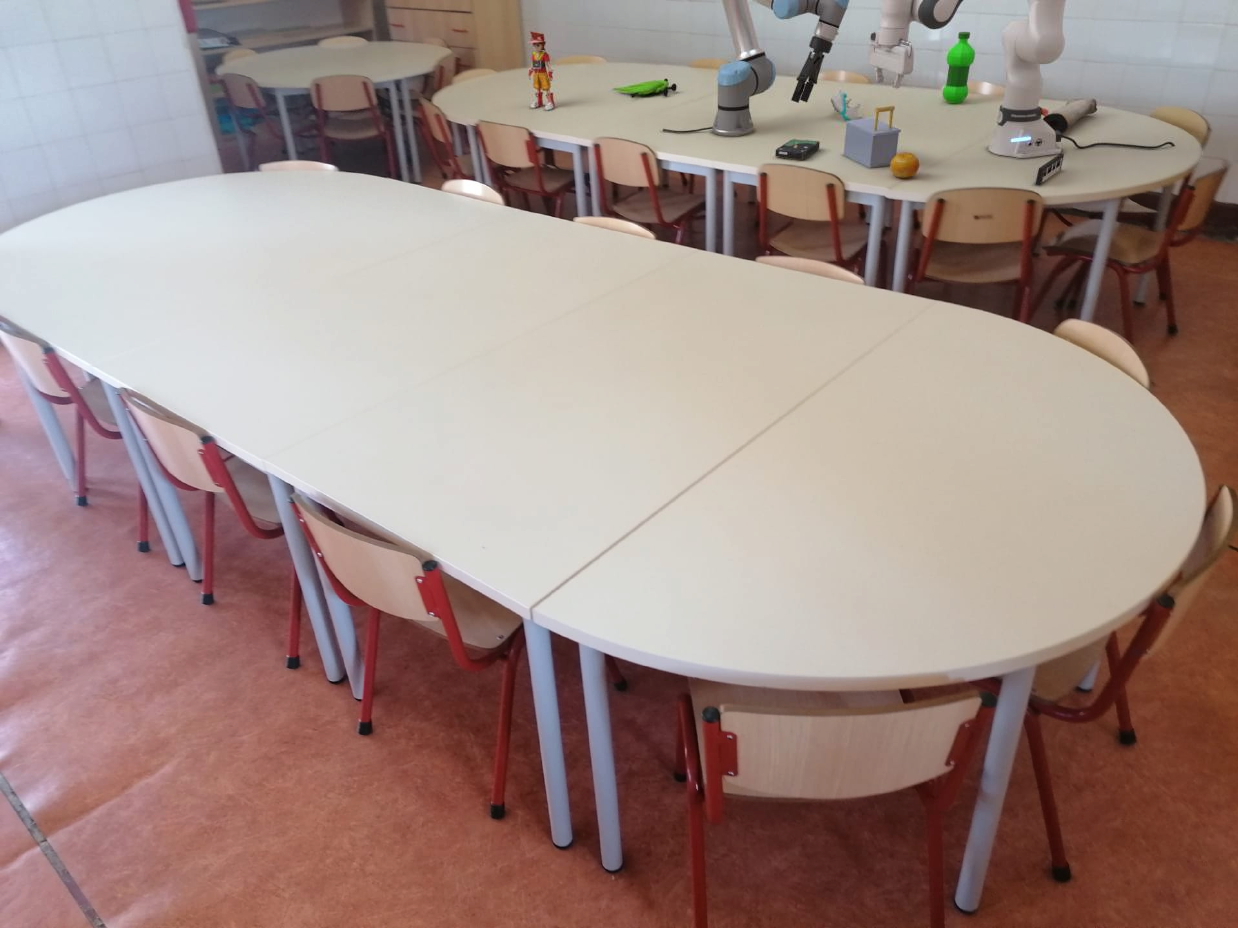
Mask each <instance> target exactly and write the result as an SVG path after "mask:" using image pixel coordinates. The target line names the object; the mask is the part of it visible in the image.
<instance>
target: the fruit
mask: <svg viewBox="0 0 1238 928" xmlns="http://www.w3.org/2000/svg"><path fill="white" fill-rule="evenodd" d="M889 167H890V172H891V173H892V175H894V176H895V177H897V178H903V179H907V178H911V177H913V176H915V174H916V173H917V172H918V170H919V169H920V161H919V159H918V157H917V156H916V155H915V154H914V153H911V152H901V153H897V154H896V156H895V157H894V158H893V159H892V161H891V165H889Z"/></svg>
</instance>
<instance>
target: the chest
mask: <svg viewBox="0 0 1238 928" xmlns="http://www.w3.org/2000/svg"><path fill="white" fill-rule="evenodd" d="M845 126H846V127H845V135H844V147H843V156H845V157H847V158H849V159H851V160H853V161H855V162H857V163H859V164H861V165H862V166H865V167H867V168H869V169H873V168H878V167H885V166H890V165H891V161H892V159H893V158H894V157H895V156H896V155H897V154H898V153H897V152H898V145H899V144H898V143H899V136H900V132H899V133H893V134H886V135H880V136H873V135H871V134H869V133H867V132H864V131H862V130H860V129H858V128H855V127H853V126H851V125H849V124H847V123H846V124H845Z"/></svg>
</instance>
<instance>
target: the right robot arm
mask: <svg viewBox="0 0 1238 928" xmlns="http://www.w3.org/2000/svg"><path fill="white" fill-rule="evenodd" d="M963 1H964V0H881V7H880V15H881V20H880V23H879V26H878V30H877V29H876V30H875V31H872V32H870V33H869V38H868V39H869V44H868V52H867V61H868V64H869V65H870V66H873V67H875V68H874V72H875V75H876V79H875V82H876V83H883V82H885V81H884V79H885V76H884V75H883V70H885V71H887V72H891V73H894V74H895V79H894V81H892V88H894V89H900V88H901V83H902V81H903V79H904V77H905V76H906V75H911V74H912V72H913V71H914V62H915V61H914V60H915V58H914V57H915V53H914V48H913V45H912V43H911V41H909V34H910V33H909V32H910V25H911V23H912V22H916V23H918V24H921V25H923V26H924V27H926V28H927V29H929V30H940V29H942V28H944V27H946V26H947V25H948V24H949V23H950V22H951V21H952V20H953V18H954V17H955V15H956V13H957V11H958V9H959V7H960V5H962V3H963ZM1066 2H1067V0H1027V4H1028V18H1024V19H1017V20H1014V21H1012V22H1010V23H1009V24H1008V25H1007V26H1006V27H1005V28H1004V29H1003V32H1002V35H1001V45H1002V48H1003V52H1004V59H1005V61H1004V62H1005V83H1004V90H1003V96H1002V102H1001V104H1000V105H999V110H998V113H997V122H996V123H997V124H996V128H995V132H994V135H993V137H992V140H991V143H990V145H989V147H988V151H989V152H991V153H993V154H995V155H1000V156H1004V157H1013V158H1016V159H1028V158H1035V157H1043V156H1051V155H1059V154H1062V147H1061V145H1059V144H1058V143H1061V142H1062V139H1064V140H1068V141H1070V142H1072V143H1073V145H1074V146H1075V147H1076V148H1077V149H1080V150H1083V149H1088V148H1092V147H1095V146H1113V147H1114V146H1115V147H1125V148H1126V147H1127V148H1136V149H1146V150H1147V149H1148V150H1149V149H1150V150H1151V149H1152V150H1153V149H1154V150H1155V149H1159V148H1163V147H1164V146H1167V145H1170V146H1171V147H1176V145H1175V143H1174V142H1172V141H1167V142H1164V143H1162V144H1159V145H1148V146H1147V145H1138V144H1128V143H1118V142H1117V143H1115V142H1095V143H1091V144H1088V145H1085V146H1082V145H1079V144H1078V143H1077V141H1076V140H1075V139H1074V138H1072V137H1070V136H1066V135H1063V134H1062V133H1061V132H1059V131H1058V130H1053V129H1052V128H1051V127H1050V126H1049V125H1048V124H1047V123H1046V122H1045V121H1044V120H1043V117H1045V116H1047V115H1048V114H1050V111H1049V109H1047V108H1043V107H1041V106H1039V104H1040V98H1041V94H1042V88H1043V85H1044V79H1043V76H1042V73H1041V67H1040V65H1049V64H1051V63H1053V62H1055V61H1057V60H1058V59H1059V58H1060V56H1061V55H1062V54H1063V52H1064V49H1065V47H1066V39H1065V36H1064V33H1063V27H1064V26H1063V25H1064V14H1065V6H1066ZM1042 116H1043V117H1042Z"/></svg>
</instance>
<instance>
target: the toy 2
mask: <svg viewBox="0 0 1238 928" xmlns="http://www.w3.org/2000/svg"><path fill="white" fill-rule="evenodd" d="M669 85H670V83H669V79H668V78H664V79H663V80H649V81H644V82H640V83H634V84H629V85H627V86H621V87H613V88H612V89H613V90H616V91H619V92H623V93H627V94H628V93H629V94H631V95H630V96H631V98H632V99H634V98H636V96H637V95H650V94H652V93H654V94H658V93H662V95H663V96H665V97H667V96H668V95H669V90H671V91H672V92H676V91H677V84H676V83H672V84H671V86H669Z"/></svg>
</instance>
